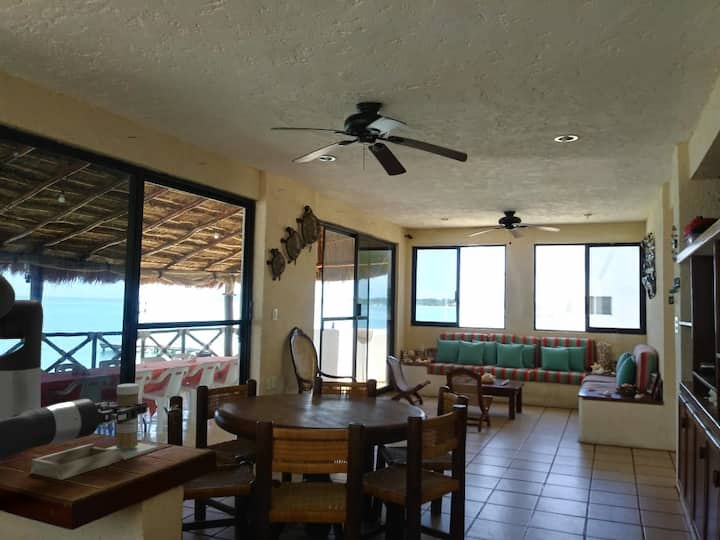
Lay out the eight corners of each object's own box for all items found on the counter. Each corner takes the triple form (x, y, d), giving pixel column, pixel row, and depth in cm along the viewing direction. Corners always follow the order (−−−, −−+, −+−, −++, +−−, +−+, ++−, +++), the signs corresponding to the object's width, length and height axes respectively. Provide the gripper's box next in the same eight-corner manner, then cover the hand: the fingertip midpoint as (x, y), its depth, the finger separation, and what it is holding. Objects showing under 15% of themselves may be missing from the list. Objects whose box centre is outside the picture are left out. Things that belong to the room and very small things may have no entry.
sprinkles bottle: (114, 450, 121) (115, 386, 122) (117, 444, 126) (117, 383, 126) (137, 448, 123) (138, 385, 123) (139, 443, 127) (139, 382, 128)
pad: (124, 459, 118) (124, 456, 118) (95, 454, 122) (95, 451, 122) (158, 448, 126) (158, 446, 126) (130, 444, 130) (130, 441, 130)
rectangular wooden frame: (61, 479, 106) (61, 466, 106) (31, 472, 110) (31, 459, 110) (120, 461, 117) (120, 448, 117) (91, 455, 122) (91, 443, 122)
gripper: (91, 405, 109) (161, 391, 124) (45, 399, 116) (116, 386, 131) (90, 444, 108) (160, 426, 123) (44, 436, 115) (116, 419, 130)
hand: (137, 406), depth 127 cm, fingers open, 4 cm apart
